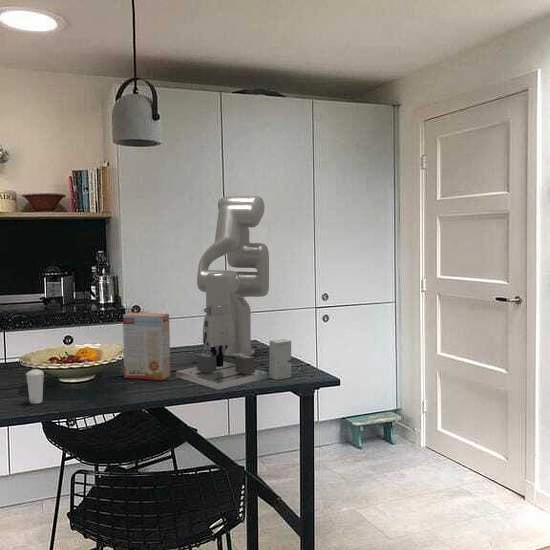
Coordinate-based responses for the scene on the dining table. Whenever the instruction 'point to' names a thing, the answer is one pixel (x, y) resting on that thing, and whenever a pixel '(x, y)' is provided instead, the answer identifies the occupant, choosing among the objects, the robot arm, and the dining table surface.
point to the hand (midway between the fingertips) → (218, 365)
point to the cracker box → (146, 346)
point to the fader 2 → (245, 364)
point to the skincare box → (280, 359)
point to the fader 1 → (206, 363)
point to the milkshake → (35, 385)
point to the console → (220, 376)
